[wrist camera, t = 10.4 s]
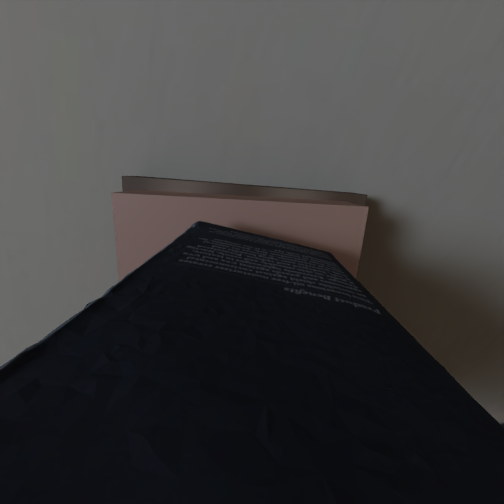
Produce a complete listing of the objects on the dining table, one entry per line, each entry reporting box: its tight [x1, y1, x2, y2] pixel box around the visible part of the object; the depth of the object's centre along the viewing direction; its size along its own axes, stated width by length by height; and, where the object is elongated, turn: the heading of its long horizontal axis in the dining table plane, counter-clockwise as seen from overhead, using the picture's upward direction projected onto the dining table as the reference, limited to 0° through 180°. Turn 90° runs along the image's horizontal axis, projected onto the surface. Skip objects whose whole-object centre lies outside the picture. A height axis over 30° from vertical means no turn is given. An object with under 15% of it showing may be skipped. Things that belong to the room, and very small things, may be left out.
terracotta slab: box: [112, 190, 369, 282], centre depth 15 cm, size 12×12×3 cm
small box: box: [0, 221, 504, 504], centre depth 8 cm, size 11×6×10 cm, turn 167°
